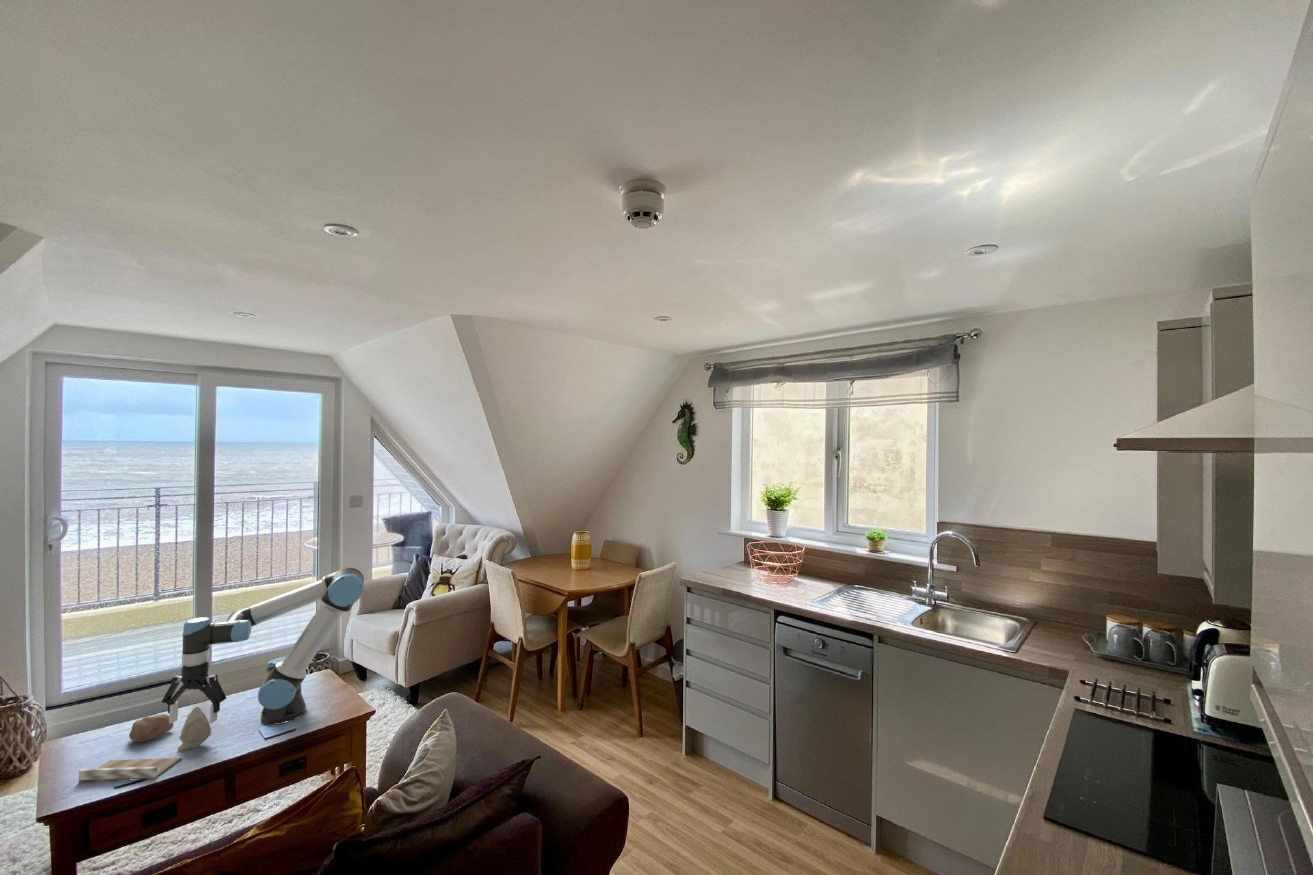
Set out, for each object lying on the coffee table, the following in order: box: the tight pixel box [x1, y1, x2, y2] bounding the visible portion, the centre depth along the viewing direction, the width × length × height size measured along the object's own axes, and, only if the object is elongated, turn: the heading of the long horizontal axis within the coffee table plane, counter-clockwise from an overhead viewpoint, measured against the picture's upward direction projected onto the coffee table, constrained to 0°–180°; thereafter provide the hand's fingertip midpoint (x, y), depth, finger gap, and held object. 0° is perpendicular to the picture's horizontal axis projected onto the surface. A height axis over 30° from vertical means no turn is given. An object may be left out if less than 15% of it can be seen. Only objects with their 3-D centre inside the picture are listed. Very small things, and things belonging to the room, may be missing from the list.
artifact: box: [177, 706, 212, 753], centre depth 197 cm, size 9×3×15 cm, turn 127°
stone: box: [128, 713, 174, 743], centre depth 204 cm, size 12×9×10 cm
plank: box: [78, 757, 182, 784], centre depth 182 cm, size 23×11×4 cm, turn 94°
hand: (193, 721), depth 196 cm, fingers open, 13 cm apart
